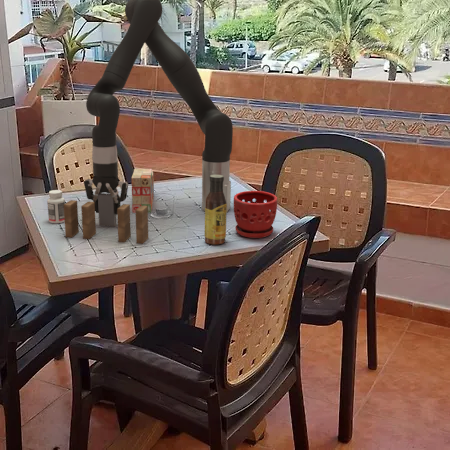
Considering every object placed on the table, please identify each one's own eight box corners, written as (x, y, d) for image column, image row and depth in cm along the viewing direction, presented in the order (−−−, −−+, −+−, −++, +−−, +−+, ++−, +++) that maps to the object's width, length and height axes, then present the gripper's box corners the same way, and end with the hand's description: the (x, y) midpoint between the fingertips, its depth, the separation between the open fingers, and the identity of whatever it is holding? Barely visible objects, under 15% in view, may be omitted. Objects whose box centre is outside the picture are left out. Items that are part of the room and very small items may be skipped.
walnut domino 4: (148, 238, 194) (147, 205, 191) (143, 243, 189) (142, 210, 186) (141, 237, 194) (141, 205, 191) (136, 243, 190) (135, 210, 186)
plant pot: (224, 232, 200) (224, 194, 196) (257, 224, 208) (258, 188, 204) (251, 244, 190) (252, 204, 186) (284, 235, 198) (286, 197, 194)
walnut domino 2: (96, 233, 197) (94, 201, 194) (89, 239, 192) (87, 206, 189) (89, 233, 197) (88, 201, 194) (83, 238, 193) (81, 206, 190)
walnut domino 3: (130, 236, 195) (129, 204, 192) (124, 242, 190) (123, 209, 187) (124, 236, 195) (123, 204, 192) (118, 241, 191) (117, 208, 187)
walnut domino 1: (78, 232, 198) (77, 200, 195) (72, 237, 193) (70, 205, 190) (72, 231, 198) (70, 200, 195) (65, 237, 194) (63, 204, 191)
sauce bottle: (218, 247, 187) (219, 179, 181) (200, 243, 190) (200, 176, 184) (230, 240, 193) (231, 175, 186) (212, 236, 196) (213, 172, 190)
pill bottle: (65, 218, 211) (63, 188, 208) (67, 222, 206) (65, 193, 203) (47, 219, 209) (45, 190, 206) (49, 224, 205) (47, 194, 202)
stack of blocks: (137, 195, 238) (136, 162, 234) (154, 195, 238) (153, 162, 235) (132, 213, 218) (131, 177, 214) (151, 213, 218) (150, 177, 214)
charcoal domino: (101, 223, 206) (100, 193, 203) (116, 224, 205) (115, 194, 202) (99, 225, 204) (97, 194, 201) (114, 226, 203) (113, 195, 200)
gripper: (131, 158, 200) (133, 211, 206) (87, 156, 203) (90, 208, 208) (123, 164, 193) (125, 218, 199) (77, 161, 196) (80, 215, 201)
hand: (107, 212), depth 204 cm, fingers open, 5 cm apart
